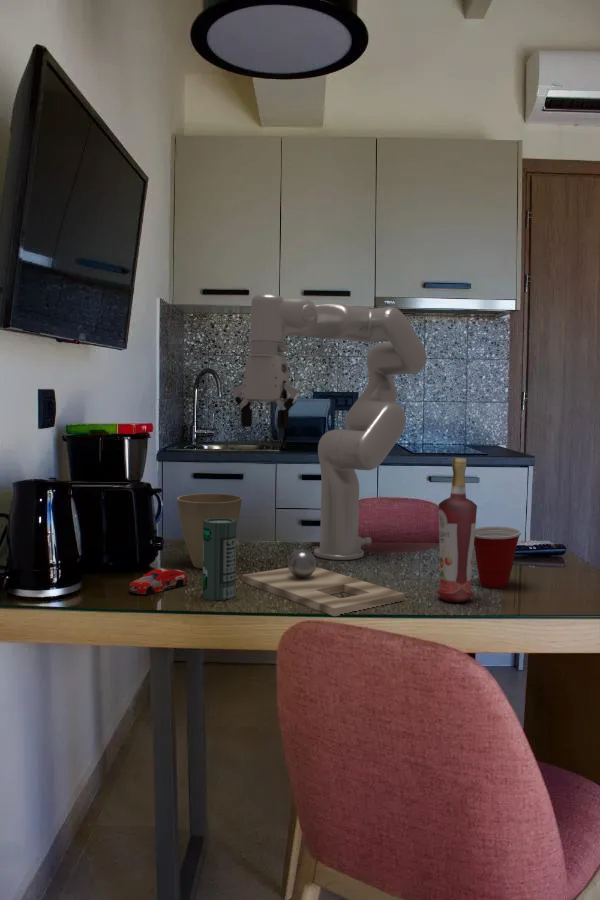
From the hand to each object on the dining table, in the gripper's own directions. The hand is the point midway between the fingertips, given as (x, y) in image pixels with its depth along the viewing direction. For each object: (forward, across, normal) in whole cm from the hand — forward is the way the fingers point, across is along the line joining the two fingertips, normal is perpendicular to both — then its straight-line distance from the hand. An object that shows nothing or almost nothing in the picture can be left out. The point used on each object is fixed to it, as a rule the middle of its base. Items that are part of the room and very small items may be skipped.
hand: (264, 427), depth 163 cm
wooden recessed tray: (+32, -20, +8) cm, 39 cm away
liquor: (+32, -45, -1) cm, 56 cm away
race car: (+34, +8, +25) cm, 43 cm away
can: (+33, -6, +23) cm, 41 cm away
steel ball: (+28, -15, +6) cm, 32 cm away
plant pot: (+33, +12, +3) cm, 35 cm away
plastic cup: (+32, -48, -17) cm, 61 cm away
